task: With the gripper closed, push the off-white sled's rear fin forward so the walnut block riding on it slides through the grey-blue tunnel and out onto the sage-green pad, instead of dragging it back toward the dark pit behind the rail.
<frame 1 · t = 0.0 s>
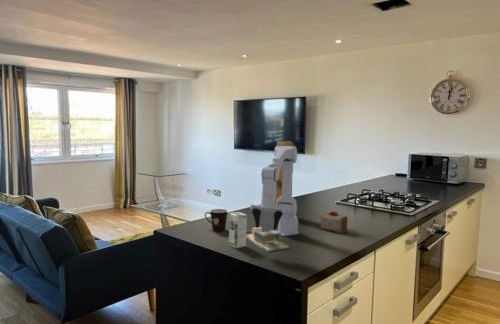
hand: (266, 228, 149), 11 cm above the worktop, tool pointing down, fingers open, 7 cm apart
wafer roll: (282, 217, 214), on the worktop
rail tunnel: (261, 240, 167), on the worktop
food item: (333, 230, 187), on the worktop
syrup box: (237, 246, 159), on the worktop
coffee mug: (216, 229, 184), on the worktop
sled: (262, 234, 166), point 3 cm above the worktop, slide at 0.0 cm
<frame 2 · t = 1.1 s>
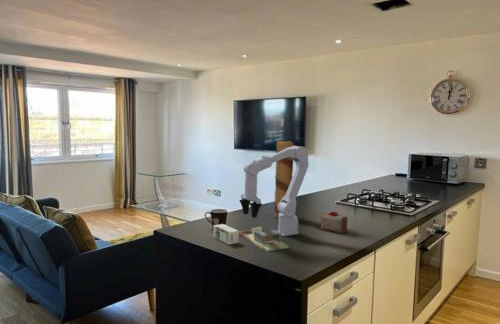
hand: (250, 215, 173), 10 cm above the worktop, tool pointing down, fingers open, 7 cm apart
syrup box: (234, 237, 161), point 3 cm above the worktop
everything else where it was.
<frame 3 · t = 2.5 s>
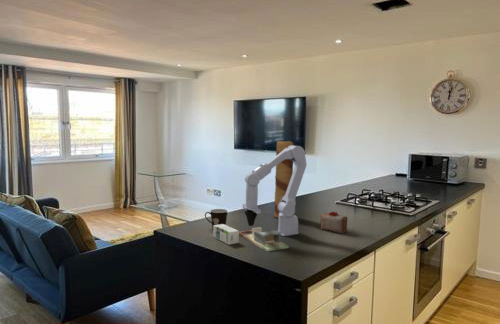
hand: (250, 225, 175), 5 cm above the worktop, tool pointing down, fingers closed
nothing on the worktop moved.
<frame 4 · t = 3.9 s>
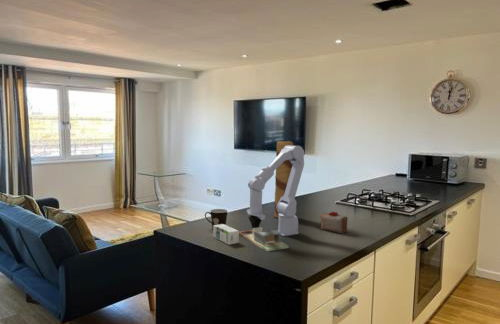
hand: (255, 231, 172), 3 cm above the worktop, tool pointing down, fingers closed
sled: (263, 234, 166), point 3 cm above the worktop, slide at 0.4 cm, touching gripper
everything else where it was.
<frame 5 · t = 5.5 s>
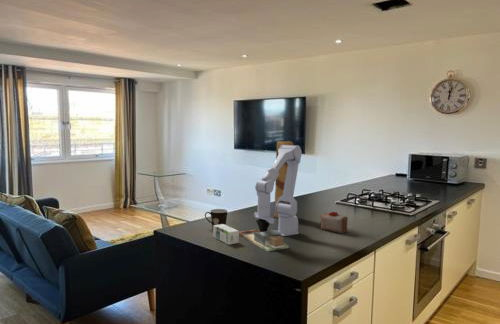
hand: (263, 235, 165), 3 cm above the worktop, tool pointing down, fingers closed
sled: (271, 239, 159), point 3 cm above the worktop, slide at 7.7 cm, touching gripper
everything else where it was.
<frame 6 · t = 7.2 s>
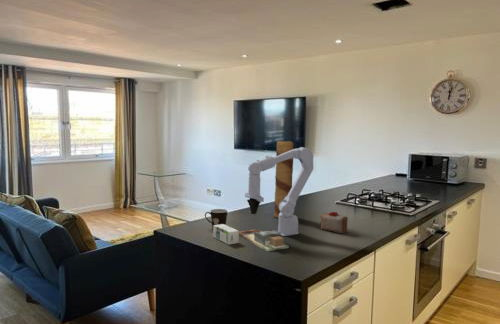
hand: (253, 213, 177), 10 cm above the worktop, tool pointing down, fingers closed
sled: (271, 239, 159), point 3 cm above the worktop, slide at 7.8 cm
everything else where it was.
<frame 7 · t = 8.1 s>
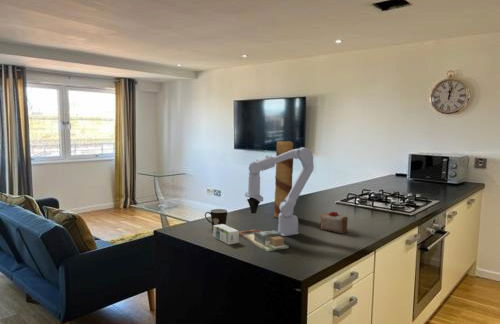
hand: (253, 213, 179), 10 cm above the worktop, tool pointing down, fingers closed
nothing on the worktop moved.
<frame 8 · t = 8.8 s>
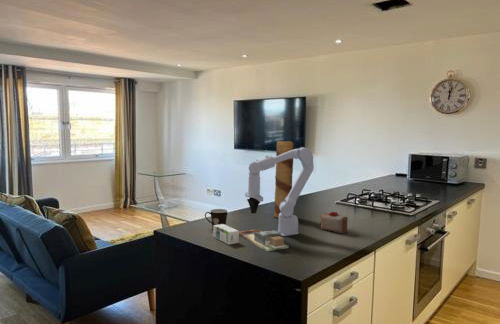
hand: (253, 213, 179), 10 cm above the worktop, tool pointing down, fingers closed
nothing on the worktop moved.
at the end: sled slide at 7.8 cm; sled 0.3 cm from the target spot, resting on rail tunnel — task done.
